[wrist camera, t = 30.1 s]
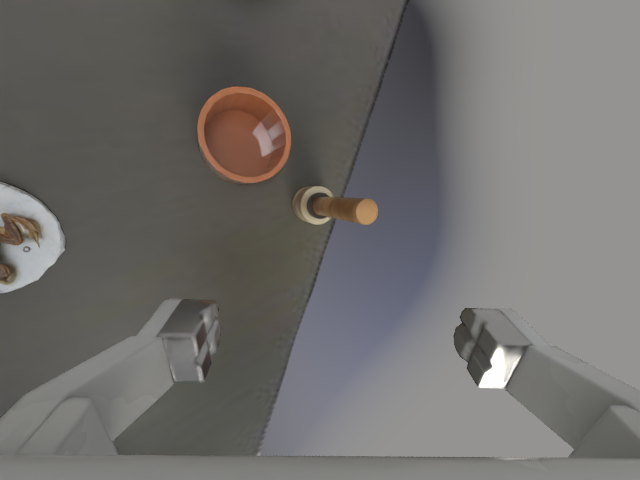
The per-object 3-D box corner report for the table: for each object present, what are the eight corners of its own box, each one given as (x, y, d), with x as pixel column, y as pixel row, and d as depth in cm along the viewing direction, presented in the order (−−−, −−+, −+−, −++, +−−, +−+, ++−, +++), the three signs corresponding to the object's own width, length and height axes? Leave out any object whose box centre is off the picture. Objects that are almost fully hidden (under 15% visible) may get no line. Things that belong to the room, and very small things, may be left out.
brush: (322, 223, 40) (384, 240, 26) (290, 219, 38) (339, 236, 24) (327, 189, 39) (393, 188, 26) (294, 183, 37) (347, 180, 24)
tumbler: (285, 170, 36) (302, 166, 30) (218, 194, 34) (222, 195, 27) (258, 98, 34) (272, 76, 27) (183, 118, 31) (179, 99, 25)
